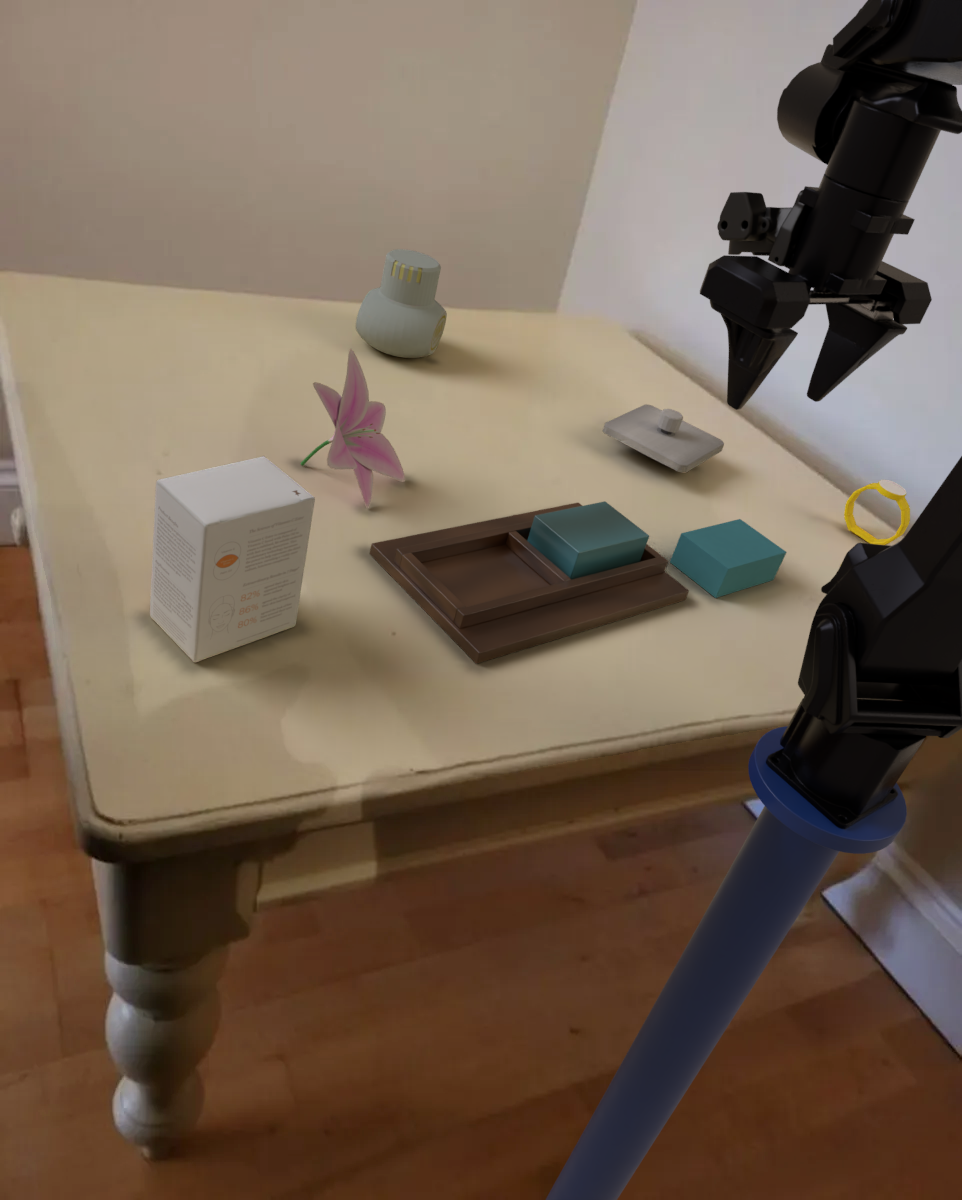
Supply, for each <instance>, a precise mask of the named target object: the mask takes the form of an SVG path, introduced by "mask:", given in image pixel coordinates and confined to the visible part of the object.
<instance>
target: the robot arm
mask: <svg viewBox="0 0 962 1200" xmlns="http://www.w3.org/2000/svg"><path fill="white" fill-rule="evenodd" d="M957 86H962V0H866V2H865V3H864V4H863V5H862V7H861V8H859V10H858V11H857V13H856V15H854V16H853V17H852V19H851V20H849V22H847V24H845V25H844V26H843V28H841V30H839V31H838V32H837V34H835V35H834V36H833V37H832V44H831V43H829V44H827V45H826V47H825V49H824V52H823V54H822V57H821V60H820V62H819V61H818V62H815V63H814V64H810V65H808V66H806V67H804V68H803V69H801V70H800V71H799V72H798V73H797V74H796V75H795V76H794V77H792V79H791V80H790V82H789V83H788V85H787V86H786V87H785V88H784V89H783V90H782V92H781V93H780V94H781V95H780V97H779V100H778V101H779V102H778V105H777V109H776V121H777V126H778V130H779V132H780V133H781V135H782V137H783V138H784V139H785V140H786V141H787V143H789V144H791V145H792V146H794V147H796V148H798V149H799V150H801V151H803V152H804V153H805V154H808V155H810V156H811V157H813V158H815V159H816V160H818V161H819V162H822V163H824V164H825V165H826V168H825V170H824V173H823V176H822V178H821V181H820V184H819V186H818V187H816V186H808V185H807V186H806V185H805V186H804V188H803V189H802V190H800V191H799V193H798V194H797V196H796V199H795V201H794V203H793V205H792V206H791V207H776V206H767V205H766V202H765V198H764V195H763V194H762V193H760V192H750V191H736V192H735V191H734V192H731V191H730V193H729V195H728V197H727V199H726V201H725V204H724V206H723V208H722V210H721V212H720V215H719V220H718V222H717V227H716V229H717V233H718V236H719V237H720V239H721V240H722V241H726V242H727V241H728V252H727V255H722V256H720V257H719V258H716V259H715V260H713V261H711V262H710V263H709V264H708V266H707V269H706V272H705V275H704V277H703V281H702V283H701V286H700V288H699V295H701V296H703V297H705V298H706V299H708V300H709V304H710V308H711V309H712V310H714V311H715V312H717V313H718V314H720V316H721V317H722V320H723V322H724V325H725V327H726V330H727V342H728V343H727V344H728V361H727V386H726V387H727V388H726V389H727V391H726V404H727V405H728V406H729V407H731V408H732V409H734V410H736V411H737V410H738V411H739V410H742V408H743V407H744V406H745V405H746V404H747V402H748V401H749V400H751V398H752V397H753V395H754V394H755V393H756V392H757V390H758V389H759V387H760V386H761V385H762V384H763V382H764V381H765V379H766V378H767V377H768V375H769V374H770V372H771V371H772V370H773V368H774V367H775V366H776V365H777V363H778V362H779V360H780V359H781V358H782V356H783V355H784V354H785V352H786V351H787V350H788V348H789V347H790V346H791V345H792V343H793V342H794V341H795V339H796V338H797V336H798V335H799V334H798V333H799V332H797V331H795V330H794V329H792V328H794V327H795V326H796V325H797V324H798V323H799V322H800V321H801V320H802V319H803V318H805V315H806V312H807V309H808V308H809V306H810V305H811V306H812V305H825V309H826V314H827V320H828V328H827V331H826V334H825V336H824V339H823V342H822V345H821V348H820V350H819V354H818V357H817V359H816V361H815V365H814V367H813V371H812V374H811V377H810V380H809V384H808V388H807V392H806V396H807V398H808V399H810V400H811V401H813V402H815V403H816V402H821V401H822V400H823V399H824V398H825V397H827V396H828V395H829V394H830V393H831V392H832V391H833V390H835V389H836V388H837V387H838V386H839V385H840V384H841V383H842V382H843V381H845V380H846V379H847V378H848V377H849V376H850V375H852V374H853V373H854V372H855V371H856V370H858V369H859V368H860V367H861V366H862V365H863V364H864V363H865V362H868V360H869V359H870V358H872V357H873V356H874V355H876V353H878V352H879V351H880V350H882V349H883V348H884V347H886V346H887V345H888V344H889V343H890V342H892V341H893V340H894V339H896V338H897V337H898V336H900V335H901V336H902V335H904V334H905V333H906V332H907V331H908V326H906V325H920V324H921V323H922V321H923V319H924V318H925V317H924V316H925V315H926V313H927V311H928V309H929V306H930V305H931V302H932V300H933V298H932V295H931V292H930V287H929V284H928V282H927V281H925V280H922V279H921V278H919V277H917V276H915V275H912V274H910V273H908V272H907V271H904V270H902V269H900V268H898V267H895V266H893V265H891V264H890V263H887V262H885V261H883V260H884V258H885V255H886V253H887V251H888V248H889V246H890V244H891V242H892V240H893V238H894V235H907V236H908V235H909V233H910V231H911V229H912V227H913V225H914V222H915V218H914V217H913V218H912V217H910V216H908V215H906V214H904V213H905V212H906V208H907V206H908V204H909V202H910V200H911V198H912V195H913V193H914V191H915V189H916V188H917V187H916V186H917V184H918V182H919V180H920V178H921V176H922V173H923V171H924V169H925V167H926V164H927V162H928V160H929V158H930V156H931V153H932V151H933V149H934V146H935V144H936V142H937V140H938V137H939V136H940V133H941V131H942V132H947V133H951V134H954V135H960V134H962V108H961V106H960V104H959V100H958V88H957ZM742 253H750V254H752V255H742ZM759 256H763V257H768V258H767V260H766V259H763V258H761V257H759ZM780 267H785V269H788V272H787V271H786V270H785V269H782V268H780ZM820 591H821V593H823V594H825V596H824V597H823V598H822V600H821V601H820V603H819V605H818V606H817V609H816V610H815V612H814V613H815V614H814V616H813V619H812V622H811V625H810V629H809V635H808V638H807V642H806V646H805V651H804V655H803V659H802V663H801V667H800V672H799V676H798V680H797V686H798V688H799V689H800V690H801V692H802V693H803V695H804V696H803V698H802V699H801V701H800V703H799V704H798V706H797V708H796V710H795V712H794V714H793V715H792V717H791V719H790V721H789V722H788V724H787V726H788V727H787V728H786V730H785V732H784V734H783V736H782V738H781V739H780V745H781V746H782V747H783V749H781V750H779V751H776V752H774V753H772V754H770V755H769V756H768V757H767V759H766V764H767V766H768V767H769V768H771V769H772V770H773V771H774V772H775V773H776V774H777V775H779V776H780V777H781V778H782V779H783V780H784V781H785V782H786V783H788V784H789V785H790V786H791V787H792V788H793V789H794V790H796V791H797V792H798V793H799V794H800V795H801V796H802V797H803V798H805V799H806V800H807V801H808V802H809V803H810V804H811V805H813V806H814V807H815V808H816V809H817V810H818V811H819V812H820V813H822V814H823V815H824V816H825V817H826V818H827V819H828V820H830V821H831V822H832V823H833V824H834V825H835V826H837V827H838V828H840V829H847V828H849V827H850V826H852V825H854V824H855V823H857V822H859V821H860V820H862V819H864V818H865V817H867V816H869V815H870V814H872V813H874V812H875V811H877V810H879V809H880V808H882V807H884V806H886V805H887V804H889V803H891V802H892V801H894V800H895V799H896V797H897V796H898V792H897V790H896V789H895V788H894V785H895V784H896V783H897V782H898V781H899V780H900V778H901V777H902V775H903V773H904V772H905V770H906V769H907V767H908V766H909V764H910V763H911V761H912V760H913V757H914V756H915V754H916V753H917V751H918V750H919V748H920V747H921V746H922V743H923V742H924V741H925V739H926V738H927V737H938V738H940V739H949V738H950V737H952V736H953V735H955V734H956V733H958V732H959V731H961V730H962V455H961V456H960V457H959V459H958V461H957V462H956V463H955V465H954V466H953V467H952V469H951V470H950V472H949V473H948V475H947V476H946V478H944V480H943V481H942V483H941V484H940V486H939V487H938V489H937V490H936V491H935V493H934V495H933V496H932V498H930V499H929V502H928V503H927V505H926V506H925V507H924V508H923V510H922V511H921V513H920V514H919V516H917V519H916V520H915V522H914V523H913V524H912V526H911V527H910V529H909V530H908V532H907V533H906V534H905V535H904V537H902V539H900V540H899V541H898V542H895V543H894V544H892V545H889V544H886V545H878V544H870V543H868V542H857V543H856V544H854V545H853V547H851V548H850V549H849V550H848V551H847V552H846V553H845V555H844V557H843V560H842V562H841V564H840V566H839V568H838V569H837V571H836V573H835V575H833V577H832V578H831V579H830V580H829V581H828V582H827V583H825V584H824V585H822V586H821V589H820Z"/></svg>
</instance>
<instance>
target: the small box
mask: <svg viewBox="0 0 962 1200" xmlns="http://www.w3.org/2000/svg"><path fill="white" fill-rule="evenodd" d="M154 497H155V498H154V519H153V522H154V523H153V535H152V556H151V557H152V559H151V578H150V579H151V580H150V601H149V617H150V619H152V620H153V621H154V622H155V623H156V624H157V625H158V626H159V627H160V628H161V629H162V630H163V631H164V633H165V634H166V635H167V636H168V637H169V638H170V639H171V640H172V641H173V642H174V643H175V644H176V646H178V647H179V648H180V650H182V652H184V654H186V656H187V657H188V658H189V659H190V660H191V661H192V662H193V663H199V662H201V661H204V660H206V659H209V658H211V657H214V656H217V655H219V654H223V653H226V652H228V651H231V650H234V649H237V648H239V647H242V646H245V645H248V644H251V643H253V642H256V641H259V640H261V639H264V638H267V637H270V636H272V635H275V634H277V633H281V632H283V631H287V630H289V629H292V628H294V627H295V626H296V625H297V620H298V619H297V618H298V614H299V613H298V612H299V605H300V599H301V591H302V586H303V580H304V573H305V567H306V560H307V552H308V548H309V547H308V546H309V540H310V533H311V528H312V521H313V514H314V508H315V501H316V497H315V496H314V495H313V494H311V493H310V492H309V491H307V490H306V488H304V487H303V486H302V485H301V484H299V483H298V482H297V481H295V480H294V478H292V477H291V476H290V475H288V474H287V473H286V472H285V471H283V470H282V469H281V468H280V467H279V466H277V465H276V464H275V463H274V462H272V461H271V460H270V459H268V458H267V457H266V456H265V455H262V456H258V457H254V458H249V459H245V460H240V461H236V462H232V463H227V464H223V465H218V466H213V467H209V468H205V469H200V470H196V471H191V472H186V473H182V474H178V475H177V474H176V475H172V476H168V477H163V478H159V479H157V480H156V482H155V495H154Z"/></svg>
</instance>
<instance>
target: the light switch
mask: <svg viewBox="0 0 962 1200" xmlns="http://www.w3.org/2000/svg"><path fill="white" fill-rule="evenodd" d="M683 419H684V416H683V414H682V413H680V412H679V411H678V410H675V409H672V408H664V409H660V408H658V407H656V406H654V405H651V404H647V403H646V404H643V405H640V406H638V407H636V408H634V409H632V410H629V411H628V412H625V413H623V414H621V415H619V416H617V417H614V418H613V419H611V420H608V421H606V422H604V424H603V428H602V432H603V433H604V434H605V435H607V436H609V437H611V438H612V439H614V440H616V441H618V442H620V443H622V444H624V445H626V446H628V447H629V448H631V449H633V450H636V452H637V453H639V454H641V455H643V456H645V457H647V458H649V459H651V460H653V461H655V462H657V463H659V464H660V465H663V466H665V467H666V468H668V469H672V470H674V471H675V472H678V473H687V472H689V471H691V470H693V469H695V468H696V467H697V466H699V465H702V464H703V463H704V462H706V461H708V460H710V459H711V458H713V457H714V456H716V455H718V454H719V453H721V452H722V451H723V448H724V446H725V442H724V441H723V440H722V438H719V437H717V436H715V435H713V434H711V433H709V432H707V431H705V430H703V429H701V428H699V427H697V426H695V425H693V424H692V423H689V422H686V420H683Z"/></svg>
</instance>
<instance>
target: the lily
mask: <svg viewBox="0 0 962 1200" xmlns="http://www.w3.org/2000/svg"><path fill="white" fill-rule="evenodd" d="M312 385H313V389H314V390H315V392H316V394H317V396H318V397H319V399H320V402H321V403H322V405H323V407H324V409H325V410H326V412H327V414H328V416H329V418H330V420H331V423H332V424H333V426H334V433H333V435H332V436H331V437H330V438H328V439H327V440H325V441H324V442H322V443H321V444H319V445H318V446H316V447H315V448H314V449H313V450H312V451H311V452H310V453H309V454H308V455H306V457H305V458H304V459H303V460H302V461H301V462H300V466H302V467H303V466H304V465H306V463H307V462H308V461H309V460H311V458H313V456H314V455H316V453H318V451H320V450H321V449H323V448H324V447H325V446H327V445H329V444H330V447H329V449H328V454H327V457H326V466H328V468H330V469H333V470H338V471H339V470H340V471H341V470H343V471H345V470H346V471H347V470H353V472H354V475H355V479H356V481H357V484H358V488H359V490H360V493H361V496H362V499H363V503H364V506H365V508H366V509H367V510H368V509H369V508H370V505H371V502H372V497H373V489H374V473H373V472H375V473H377V474H379V475H382V476H385V477H388V478H390V479H392V480H395V481H398V482H401V483H402V482H403V483H404V482H405V481H406V475H405V471H404V468H403V466H402V463H401V461H400V458H399V456H398V454H397V452H396V450H395V448H394V446H393V445H392V444H391V441H390V440H389V439H388V438H387V437H386V436H385V435H384V434H383V433H382V430H383V427H384V424H385V420H386V413H387V409H386V405H385V404H384V403H383V402H380V401H376V400H375V401H373V400H370V394H369V393H370V392H369V387H368V383H367V380H366V377H365V373H364V371H363V368H362V365H361V363H360V362H359V359H358V356H357V354H356V353H355V351H354V350H353V349H352V348H349V350H348V355H347V365H346V375H345V381H344V385H343V389H342V393H341V394H340V393H339V392H338V391H337V390H335V389H334V388H331V387H330V386H329V385H327V384H324V383H321V382H316V381H315V382H312Z"/></svg>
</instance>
